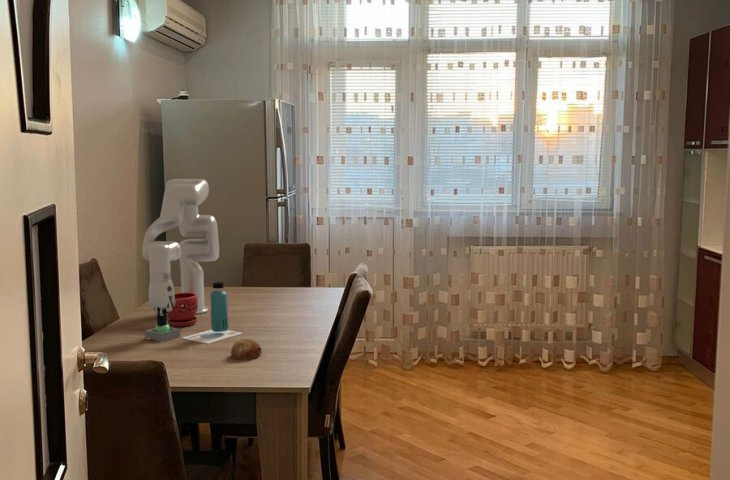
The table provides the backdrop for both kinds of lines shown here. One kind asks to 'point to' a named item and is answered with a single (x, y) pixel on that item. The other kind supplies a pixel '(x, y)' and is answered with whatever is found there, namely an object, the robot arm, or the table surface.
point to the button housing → (162, 334)
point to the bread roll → (245, 350)
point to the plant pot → (183, 310)
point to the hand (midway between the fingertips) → (162, 325)
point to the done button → (162, 328)
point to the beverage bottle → (219, 308)
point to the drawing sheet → (211, 336)
